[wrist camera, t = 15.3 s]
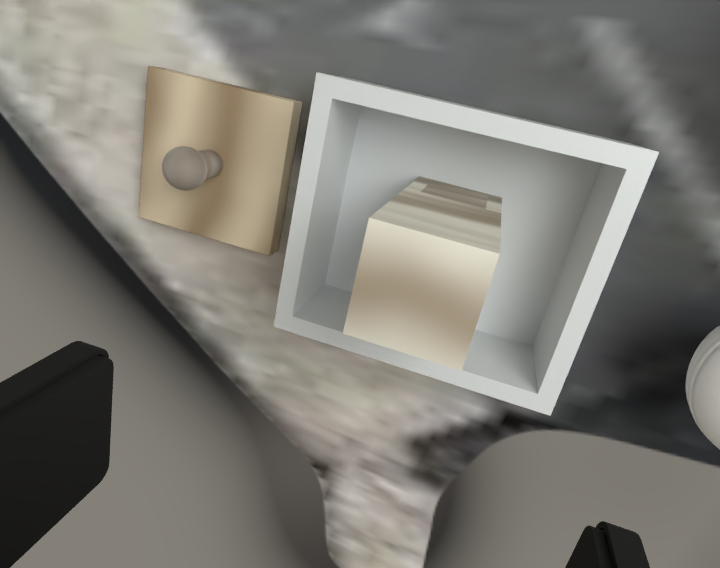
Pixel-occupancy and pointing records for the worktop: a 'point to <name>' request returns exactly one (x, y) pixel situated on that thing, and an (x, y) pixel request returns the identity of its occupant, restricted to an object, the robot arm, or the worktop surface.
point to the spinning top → (706, 386)
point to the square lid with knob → (217, 159)
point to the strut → (426, 271)
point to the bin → (476, 172)
